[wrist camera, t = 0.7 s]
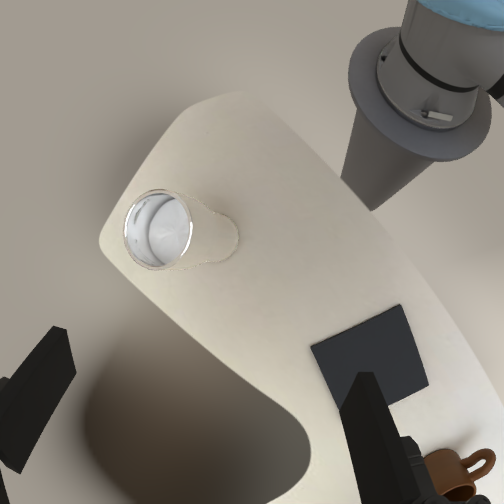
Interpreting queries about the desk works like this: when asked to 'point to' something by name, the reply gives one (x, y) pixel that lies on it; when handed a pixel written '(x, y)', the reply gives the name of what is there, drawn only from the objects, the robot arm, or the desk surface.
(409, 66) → the robot arm
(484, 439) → the desk surface
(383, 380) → the placemat
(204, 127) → the desk surface
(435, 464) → the mug
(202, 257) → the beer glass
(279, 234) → the desk surface
